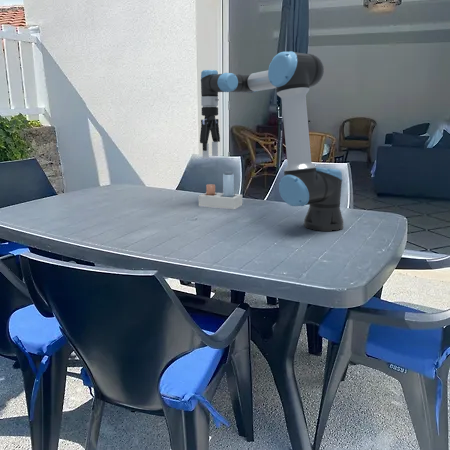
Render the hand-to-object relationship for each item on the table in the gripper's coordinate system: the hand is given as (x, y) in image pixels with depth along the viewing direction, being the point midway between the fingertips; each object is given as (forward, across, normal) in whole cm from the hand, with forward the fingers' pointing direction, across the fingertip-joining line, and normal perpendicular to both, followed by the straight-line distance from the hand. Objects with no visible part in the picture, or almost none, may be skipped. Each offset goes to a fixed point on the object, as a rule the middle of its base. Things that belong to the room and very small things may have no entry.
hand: (210, 156), depth 197 cm
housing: (+24, 0, -5) cm, 24 cm away
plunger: (+19, 0, 0) cm, 19 cm away
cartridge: (+23, 0, -9) cm, 24 cm away
